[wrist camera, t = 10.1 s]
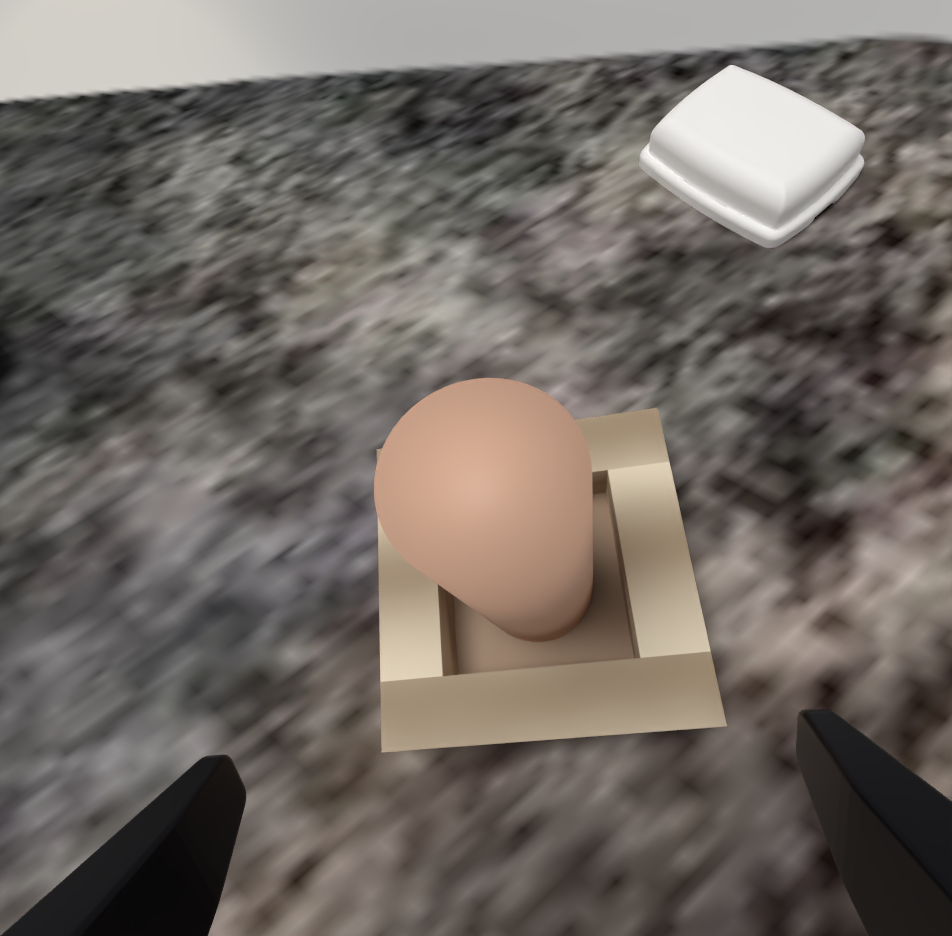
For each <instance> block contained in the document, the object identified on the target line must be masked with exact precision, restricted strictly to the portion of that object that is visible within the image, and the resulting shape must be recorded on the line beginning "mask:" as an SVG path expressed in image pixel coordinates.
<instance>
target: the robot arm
mask: <svg viewBox="0 0 952 936" xmlns="http://www.w3.org/2000/svg"><path fill="white" fill-rule="evenodd" d="M796 754H797V760H798V764H799V767H800V770H801V772H802V775H803V778H804V780H805V783H806V786H807V788H808V791H809V794H810V796H811V799H812V802H813V804H814V807H815V810H816V813H817V815H818V818H819V821H820V823H821V826H822V829H823V831H824V834H825V837H826V839H827V842H828V845H829V847H830V850H831V853H832V855H833V858H834V861H835V863H836V866H837V868H838V871H839V873H840V876H841V878H842V881H843V883H844V885H845V887H846V889H847V892H848V894H849V896H850V898H851V900H852V902H853V904H854V906H855V908H856V910H857V912H858V914H859V916H860V919H861V921H862V923H863V925H864V927H865V929H866V931H867V933H868V935H869V936H952V801H951V800H949V799H948V798H947V797H945V796H944V795H943V794H941V793H940V792H939V791H937V790H936V789H935V788H933V787H932V786H931V785H930V784H928V783H927V782H926V781H924V780H923V779H922V778H920V777H919V776H918V775H916V774H915V773H914V772H912V771H911V770H910V769H909V768H907V767H906V766H905V765H903V764H902V763H901V762H899V761H898V760H897V759H895V758H894V757H893V756H891V755H890V754H889V753H888V752H886V751H885V750H884V749H882V748H881V747H880V746H878V745H877V744H876V743H874V742H873V741H872V740H870V739H869V738H868V737H867V736H865V735H864V734H863V733H861V732H860V731H859V730H857V729H856V728H855V727H853V726H852V725H851V724H849V723H848V722H847V721H846V720H844V719H843V718H842V717H840V716H839V715H838V714H836V713H835V712H834V711H832V710H830V709H826V708H821V709H808V710H802V711H800V712H799V714H798V717H797V739H796ZM245 803H246V790H245V786H244V784H243V782H242V780H241V778H240V775H239V773H238V771H237V769H236V767H235V765H234V763H233V761H232V759H231V758H230V757H229V756H228V755H213V756H206V757H203V758H201V759H200V760H199V761H198V762H196V763H195V764H194V765H193V766H192V767H191V768H190V769H188V770H187V771H186V772H185V773H184V774H183V775H182V776H181V777H179V778H178V779H177V780H176V781H175V782H174V783H173V784H171V785H170V786H169V787H168V788H167V789H166V790H165V791H164V792H162V793H161V794H160V795H159V796H158V797H157V798H156V799H155V800H153V801H152V802H151V803H150V804H149V805H148V806H147V807H145V808H144V809H143V810H142V811H141V812H140V813H139V814H138V815H136V816H135V817H134V818H133V819H132V820H131V821H130V822H129V823H127V824H126V825H125V826H124V827H123V828H122V829H121V830H119V831H118V832H117V833H116V834H115V835H114V836H113V837H112V838H110V839H109V840H108V841H107V842H106V843H105V844H104V845H103V846H101V847H100V848H99V849H98V850H97V851H96V852H95V853H93V854H92V855H91V856H90V857H89V858H88V859H87V860H86V861H84V862H83V863H82V864H81V865H80V866H79V867H78V868H76V869H75V870H74V871H73V872H72V873H71V874H70V875H69V876H67V877H66V878H65V879H64V880H63V881H62V882H61V883H60V884H58V885H57V886H56V887H55V888H54V889H53V890H52V891H50V892H49V893H48V894H47V895H46V896H45V897H44V898H43V899H41V900H40V901H39V902H38V903H37V904H36V905H35V906H33V907H32V908H31V909H30V910H29V911H28V912H27V913H26V914H24V915H23V916H22V917H21V918H20V919H19V920H18V921H16V922H15V923H14V924H13V925H12V926H11V927H10V928H9V929H7V930H6V931H5V932H4V933H3V934H2V935H1V936H208V933H209V931H210V928H211V925H212V922H213V919H214V916H215V913H216V910H217V907H218V904H219V901H220V897H221V894H222V891H223V887H224V883H225V880H226V876H227V872H228V868H229V864H230V861H231V857H232V853H233V849H234V845H235V841H236V838H237V834H238V830H239V826H240V822H241V819H242V815H243V811H244V807H245Z"/></svg>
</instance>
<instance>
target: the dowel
mask: <svg viewBox="0 0 952 936" xmlns="http://www.w3.org/2000/svg"><path fill="white" fill-rule="evenodd" d="M374 498H375V506H376V510H377V515H378V518H379V521H380V524H381V526H382V529H383V531H384V533H385V535H386V536H387V538H388V540H389V542H390V543H391V544H392V546H393V547H394V548H395V550H396V551H397V552H398V553H399V554H400V555H401V556H402V557H403V558H404V559H405V560H406V561H407V562H408V563H409V564H411V565H412V566H413V567H415V568H416V569H417V570H419V571H420V572H421V573H423V574H424V575H426V576H427V577H428V578H430V579H431V580H433V581H434V582H435V583H437V584H438V585H440V586H441V587H442V588H444V589H445V590H447V591H448V592H450V593H451V594H452V595H454V596H455V597H457V598H458V599H459V600H461V601H462V602H464V603H465V604H466V605H468V606H469V607H471V608H472V609H474V610H475V611H476V612H478V613H479V614H481V615H482V616H483V617H485V618H486V619H488V620H489V621H490V622H492V623H493V624H495V625H496V626H498V627H499V628H500V629H502V630H503V631H505V632H506V633H508V634H509V635H511V636H513V637H515V638H518V639H521V640H525V641H530V642H545V641H550V640H554V639H557V638H559V637H561V636H564V635H565V634H567V633H568V632H570V631H571V630H572V629H574V628H575V627H576V626H577V625H578V624H579V623H580V622H581V620H582V619H583V617H584V616H585V614H586V612H587V610H588V608H589V606H590V603H591V600H592V594H593V492H592V464H591V458H590V453H589V449H588V446H587V443H586V441H585V438H584V435H583V433H582V432H581V430H580V428H579V426H578V424H577V423H576V421H575V420H574V419H573V417H572V416H571V415H570V414H569V412H568V411H567V410H566V409H565V408H564V407H563V406H562V405H561V404H560V403H559V402H557V401H556V400H555V399H553V398H552V397H551V396H549V395H548V394H546V393H544V392H542V391H541V390H539V389H537V388H535V387H532V386H530V385H527V384H525V383H521V382H517V381H514V380H508V379H501V378H480V379H471V380H466V381H462V382H458V383H455V384H452V385H449V386H446V387H444V388H442V389H440V390H438V391H436V392H433V393H432V394H430V395H429V396H427V397H425V398H424V399H422V400H421V401H420V402H418V403H417V404H416V405H415V406H413V407H412V408H411V409H410V410H409V411H408V412H407V413H406V414H405V415H404V416H403V417H402V418H401V419H400V421H399V422H398V423H397V424H396V426H395V427H394V428H393V430H392V431H391V433H390V435H389V436H388V438H387V440H386V442H385V444H384V446H383V448H382V450H381V453H380V456H379V459H378V463H377V467H376V472H375V480H374Z"/></svg>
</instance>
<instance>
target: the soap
mask: <svg viewBox="0 0 952 936" xmlns="http://www.w3.org/2000/svg"><path fill="white" fill-rule="evenodd" d="M864 141H865V136H864V134H863V132H862V131H861V130H860V129H858V128H857V127H855V126H854V125H852V124H850V123H849V122H847V121H846V120H844V119H842V118H841V117H839V116H837V115H835V114H834V113H832V112H830V111H829V110H827V109H825V108H823V107H822V106H820V105H818V104H816V103H814V102H812V101H811V100H809V99H807V98H805V97H803V96H801V95H799V94H797V93H795V92H793V91H791V90H789V89H787V88H785V87H783V86H781V85H779V84H776V83H774V82H772V81H770V80H768V79H766V78H763V77H761V76H759V75H756V74H754V73H752V72H749V71H747V70H744V69H742V68H739V67H737V66H734V65H730V66H728V67H727V68H725V69H724V70H722V71H720V72H719V73H717V74H716V75H715V76H713V77H712V78H710V79H709V80H707V81H706V82H705V83H703V84H702V85H701V86H699V87H698V88H697V89H695V90H694V91H693V92H692V93H691V94H689V95H688V96H687V97H686V98H685V99H683V100H682V101H681V102H680V103H679V104H678V105H677V106H676V107H674V108H673V109H672V110H671V111H670V112H669V113H668V114H667V115H666V116H665V117H664V118H663V119H662V120H661V122H660V123H659V124H658V125H657V126H656V127H655V128H654V129H653V131H652V133H651V137H650V142H649V144H648V145H647V146H646V147H645V148H644V149H643V150H642V152H641V154H640V161H639V165H640V168H641V169H642V170H644V171H645V172H646V173H647V174H648V175H650V176H651V177H652V178H653V179H655V180H656V181H657V182H658V183H660V184H661V185H662V186H664V187H665V188H666V189H668V190H669V191H670V192H672V193H673V194H675V195H676V196H677V197H679V198H680V199H682V200H683V201H685V202H686V203H687V204H689V205H691V206H692V207H694V208H695V209H697V210H698V211H700V212H701V213H703V214H705V215H706V216H708V217H710V218H711V219H713V220H715V221H716V222H718V223H720V224H721V225H723V226H725V227H727V228H728V229H730V230H732V231H734V232H736V233H737V234H739V235H741V236H743V237H745V238H747V239H749V240H751V241H753V242H755V243H757V244H759V245H761V246H763V247H765V248H775V247H778V246H780V245H781V244H783V243H784V242H786V241H787V240H789V239H790V238H792V237H793V236H795V235H796V234H797V233H799V232H800V231H802V230H803V229H804V228H806V227H807V226H808V225H810V224H811V223H812V222H813V220H814V218H815V217H816V216H817V215H818V214H819V213H820V212H822V211H823V210H824V209H825V208H826V207H827V206H828V205H830V204H831V203H833V204H834V203H835V202H836V201H837V200H838V199H839V198H840V197H841V196H842V195H843V194H844V192H845V191H846V190H847V189H848V188H849V187H850V186H851V185H852V183H853V182H854V181H855V180H856V179H857V177H858V176H859V174H860V172H861V170H862V168H863V166H864V159H863V157H862V156H861V155H860V154H859V153H860V151H861V149H862V146H863V144H864Z"/></svg>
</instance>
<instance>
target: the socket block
mask: <svg viewBox="0 0 952 936" xmlns="http://www.w3.org/2000/svg"><path fill="white" fill-rule="evenodd" d="M575 421H576V423H577V424H578V426H579V428H580V430H581V432H582V433H583V435H584V438H585V441H586V443H587V446H588V449H589V453H590V458H591V464H592V492H593V594H592V600H591V603H590V606H589V608H588V610H587V612H586V614H585V616H584V617H583V619H582V620H581V622H580V623H579V624H578V625H577V626H576V627H575V628H574V629H572V630H571V631H570V632H568V633H567V634H565V635H564V636H561V637H559V638H557V639H554V640H550V641H545V642H530V641H525V640H521V639H518V638H515V637H513V636H511V635H509V634H508V633H506V632H505V631H503V630H502V629H500V628H499V627H498V626H496V625H495V624H493V623H492V622H490V621H489V620H488V619H486V618H485V617H483V616H482V615H481V614H479V613H478V612H476V611H475V610H474V609H472V608H471V607H469V606H468V605H466V604H465V603H464V602H462V601H461V600H459V599H458V598H457V597H455V596H454V595H452V594H451V593H450V592H448V591H447V590H445V589H444V588H442V587H441V586H440V585H438V584H437V583H435V582H434V581H433V580H431V579H430V578H428V577H427V576H426V575H424V574H423V573H421V572H420V571H419V570H417V569H416V568H415V567H413V566H412V565H411V564H409V563H408V562H407V561H406V560H405V559H404V558H403V557H402V556H401V555H400V554H399V553H398V552H397V551H396V550H395V548H394V547H393V546H392V544H391V543H390V542H389V540H388V538H387V536H386V535H385V533H384V531H383V529H382V526H381V524H380V521H379V518H378V555H379V617H380V679H381V742H382V752H393V751H406V750H419V749H432V748H446V747H459V746H472V745H486V744H499V743H512V742H525V741H539V740H552V739H565V738H579V737H592V736H605V735H618V734H632V733H645V732H658V731H671V730H685V729H698V728H711V727H725V726H727V724H726V720H725V715H724V711H723V706H722V701H721V697H720V692H719V688H718V683H717V678H716V674H715V669H714V665H713V660H712V655H711V651H710V646H709V642H708V637H707V632H706V628H705V623H704V619H703V614H702V609H701V605H700V600H699V596H698V591H697V586H696V582H695V577H694V573H693V568H692V563H691V559H690V554H689V550H688V545H687V540H686V536H685V531H684V527H683V522H682V517H681V513H680V508H679V504H678V499H677V494H676V490H675V485H674V481H673V476H672V471H671V467H670V462H669V458H668V453H667V448H666V444H665V439H664V435H663V430H662V425H661V421H660V416H659V412H658V408H652V409H645V410H639V411H632V412H625V413H618V414H612V415H605V416H598V417H591V418H585V419H578V420H575ZM381 450H382V449H377V463H378V459H379V456H380V453H381Z"/></svg>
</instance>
